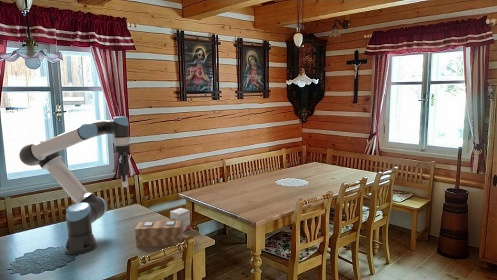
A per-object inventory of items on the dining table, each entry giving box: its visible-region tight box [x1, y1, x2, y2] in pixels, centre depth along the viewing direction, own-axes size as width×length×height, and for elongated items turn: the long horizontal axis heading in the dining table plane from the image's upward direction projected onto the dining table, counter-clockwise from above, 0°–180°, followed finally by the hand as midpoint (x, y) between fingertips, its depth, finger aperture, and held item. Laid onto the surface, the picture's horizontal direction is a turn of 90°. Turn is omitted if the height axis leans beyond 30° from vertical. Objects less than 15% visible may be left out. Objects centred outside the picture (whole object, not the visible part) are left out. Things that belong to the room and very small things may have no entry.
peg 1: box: [144, 221, 153, 227], centre depth 193 cm, size 4×4×10 cm
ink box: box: [169, 207, 191, 232], centre depth 210 cm, size 9×9×12 cm
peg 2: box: [166, 221, 175, 226], centre depth 193 cm, size 4×4×10 cm
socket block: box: [134, 220, 184, 248], centre depth 193 cm, size 24×10×10 cm, turn 94°
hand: (125, 186), depth 194 cm, fingers closed
